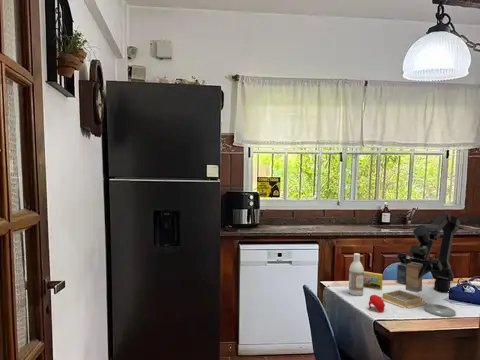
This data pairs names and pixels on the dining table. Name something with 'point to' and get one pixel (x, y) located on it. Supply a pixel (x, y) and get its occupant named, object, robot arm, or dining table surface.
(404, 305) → the wooden square frame
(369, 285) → the candy box
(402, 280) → the box
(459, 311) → the dining table surface
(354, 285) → the bath foam
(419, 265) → the walnut box
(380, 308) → the red rounded piece
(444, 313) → the plate
